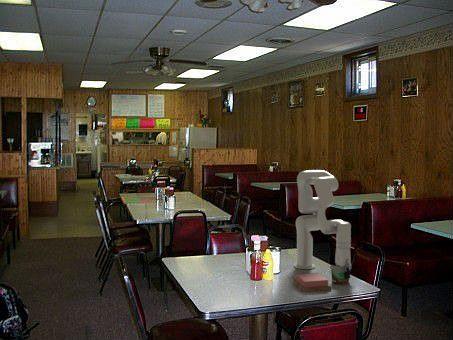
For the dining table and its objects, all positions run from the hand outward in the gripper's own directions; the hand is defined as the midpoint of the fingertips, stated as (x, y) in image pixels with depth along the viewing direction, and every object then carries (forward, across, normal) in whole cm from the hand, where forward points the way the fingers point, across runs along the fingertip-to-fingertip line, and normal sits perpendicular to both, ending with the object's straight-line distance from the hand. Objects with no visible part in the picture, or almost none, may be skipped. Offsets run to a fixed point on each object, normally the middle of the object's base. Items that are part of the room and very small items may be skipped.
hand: (343, 276), depth 265 cm
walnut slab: (+5, +3, -19) cm, 20 cm away
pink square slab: (+2, +3, -19) cm, 20 cm away
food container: (+4, 0, 0) cm, 4 cm away
